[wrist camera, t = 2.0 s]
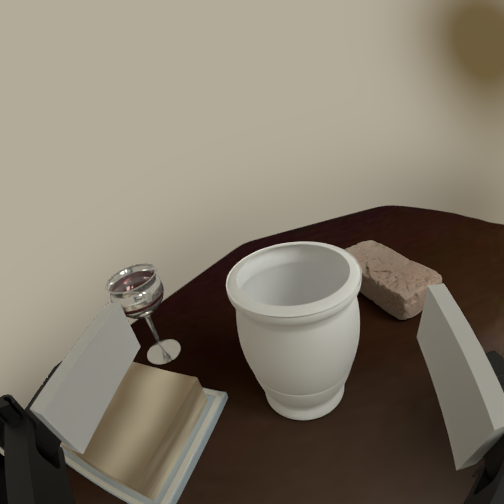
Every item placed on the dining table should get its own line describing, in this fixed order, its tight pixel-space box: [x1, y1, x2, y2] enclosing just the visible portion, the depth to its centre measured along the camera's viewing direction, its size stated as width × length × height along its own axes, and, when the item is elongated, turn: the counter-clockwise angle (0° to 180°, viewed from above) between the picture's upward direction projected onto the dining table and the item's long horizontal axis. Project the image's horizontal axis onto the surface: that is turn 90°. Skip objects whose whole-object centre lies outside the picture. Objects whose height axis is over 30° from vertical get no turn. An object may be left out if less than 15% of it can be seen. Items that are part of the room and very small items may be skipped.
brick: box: [345, 240, 442, 320], centre depth 41 cm, size 17×8×5 cm, turn 22°
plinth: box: [60, 362, 208, 501], centre depth 25 cm, size 13×13×4 cm
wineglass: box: [105, 263, 181, 364], centre depth 35 cm, size 7×7×12 cm
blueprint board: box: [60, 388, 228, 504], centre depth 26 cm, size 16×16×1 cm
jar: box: [226, 242, 362, 420], centre depth 26 cm, size 11×10×15 cm
